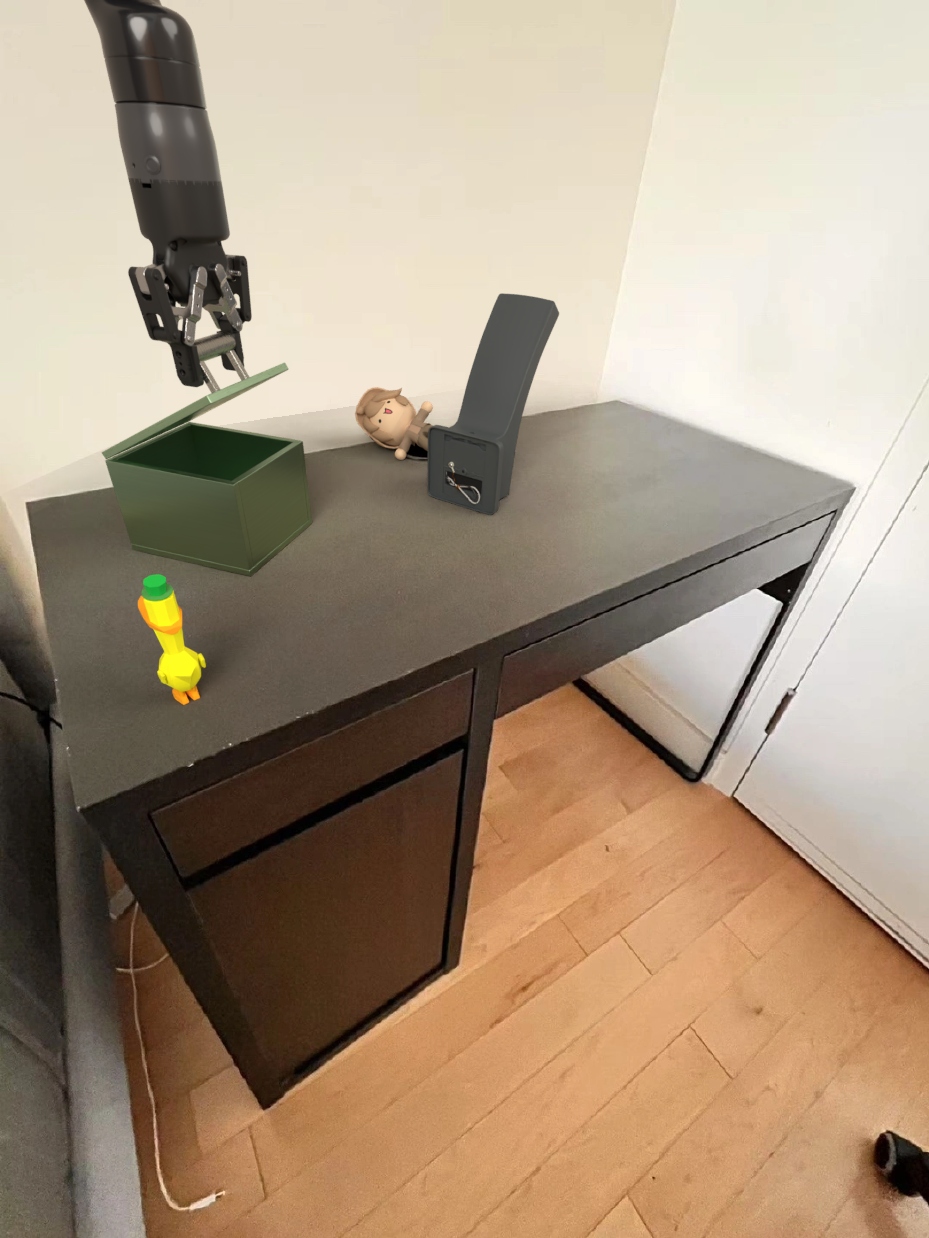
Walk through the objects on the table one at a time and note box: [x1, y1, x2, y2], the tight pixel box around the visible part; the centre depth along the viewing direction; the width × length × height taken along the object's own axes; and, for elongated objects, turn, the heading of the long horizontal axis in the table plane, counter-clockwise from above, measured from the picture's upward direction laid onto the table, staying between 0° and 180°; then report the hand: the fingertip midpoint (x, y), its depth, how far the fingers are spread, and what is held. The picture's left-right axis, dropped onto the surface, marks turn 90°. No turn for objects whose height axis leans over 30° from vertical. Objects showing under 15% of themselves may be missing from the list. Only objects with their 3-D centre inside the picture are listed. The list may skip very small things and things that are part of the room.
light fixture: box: [426, 293, 560, 516], centre depth 83 cm, size 11×17×24 cm, turn 149°
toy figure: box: [137, 573, 207, 706], centre depth 49 cm, size 7×4×12 cm, turn 42°
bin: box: [104, 421, 313, 577], centre depth 71 cm, size 16×14×11 cm
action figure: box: [354, 386, 434, 461], centre depth 97 cm, size 10×11×15 cm
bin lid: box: [101, 331, 289, 460], centre depth 65 cm, size 17×14×6 cm
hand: (214, 376), depth 63 cm, fingers closed on bin lid, 6 cm apart
